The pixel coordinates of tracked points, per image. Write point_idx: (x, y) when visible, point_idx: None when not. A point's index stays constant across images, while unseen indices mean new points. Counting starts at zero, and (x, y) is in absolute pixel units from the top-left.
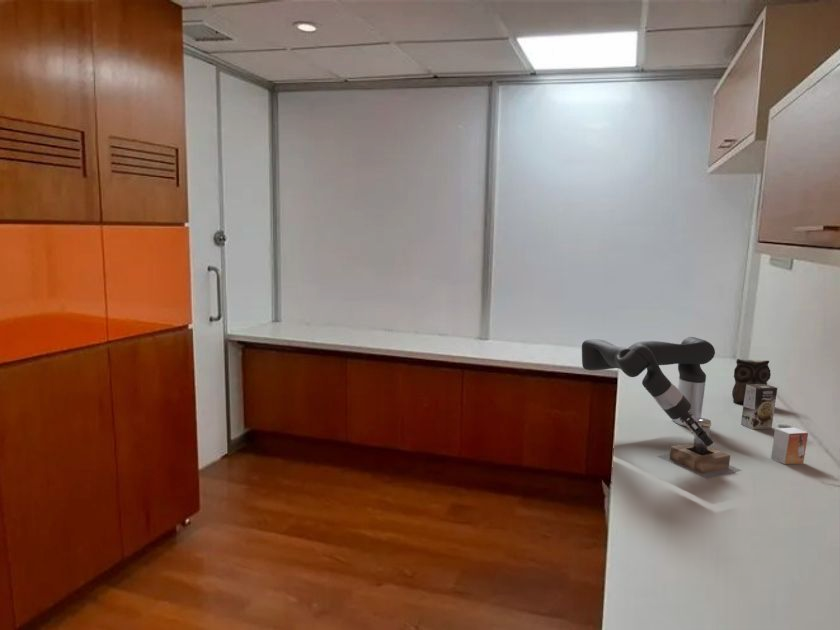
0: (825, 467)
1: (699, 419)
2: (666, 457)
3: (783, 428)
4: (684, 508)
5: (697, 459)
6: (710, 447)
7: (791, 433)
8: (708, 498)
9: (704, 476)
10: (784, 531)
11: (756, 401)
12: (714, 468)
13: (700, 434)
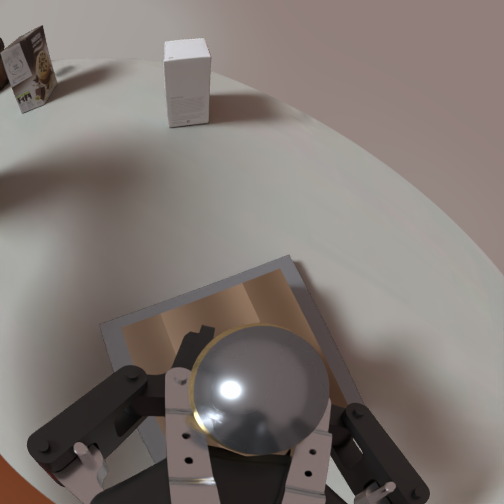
0: (223, 81)
1: (249, 427)
2: None
3: (168, 52)
4: (457, 473)
5: None
6: (192, 305)
7: (209, 53)
8: (431, 424)
9: None
10: (497, 323)
11: (29, 61)
12: None
13: (351, 439)
